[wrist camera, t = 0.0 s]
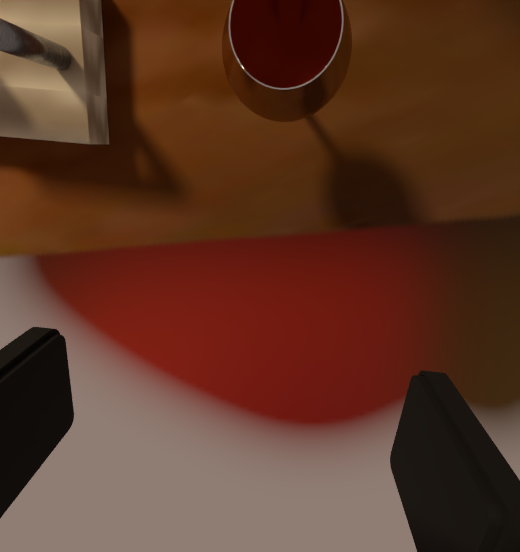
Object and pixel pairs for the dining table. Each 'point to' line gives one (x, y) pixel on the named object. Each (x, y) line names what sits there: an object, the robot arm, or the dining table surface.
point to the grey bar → (32, 47)
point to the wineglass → (286, 55)
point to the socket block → (56, 75)
